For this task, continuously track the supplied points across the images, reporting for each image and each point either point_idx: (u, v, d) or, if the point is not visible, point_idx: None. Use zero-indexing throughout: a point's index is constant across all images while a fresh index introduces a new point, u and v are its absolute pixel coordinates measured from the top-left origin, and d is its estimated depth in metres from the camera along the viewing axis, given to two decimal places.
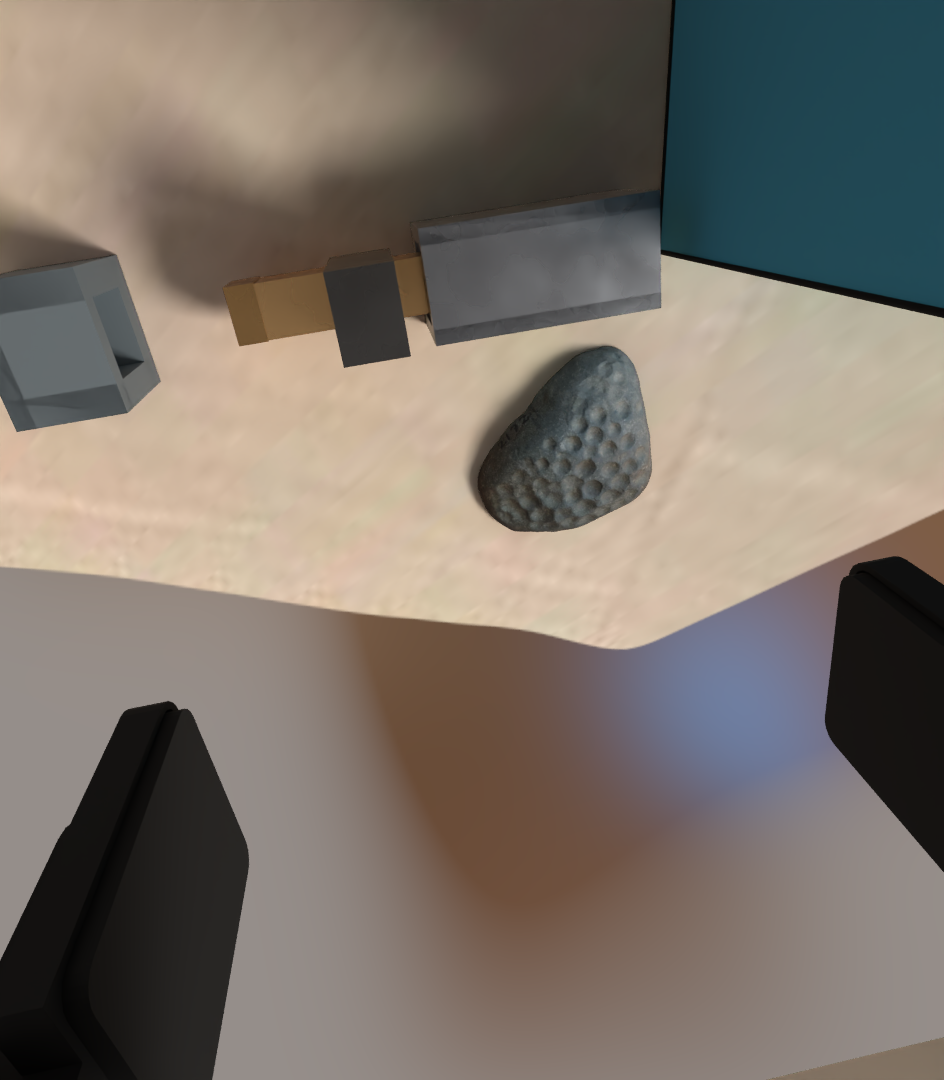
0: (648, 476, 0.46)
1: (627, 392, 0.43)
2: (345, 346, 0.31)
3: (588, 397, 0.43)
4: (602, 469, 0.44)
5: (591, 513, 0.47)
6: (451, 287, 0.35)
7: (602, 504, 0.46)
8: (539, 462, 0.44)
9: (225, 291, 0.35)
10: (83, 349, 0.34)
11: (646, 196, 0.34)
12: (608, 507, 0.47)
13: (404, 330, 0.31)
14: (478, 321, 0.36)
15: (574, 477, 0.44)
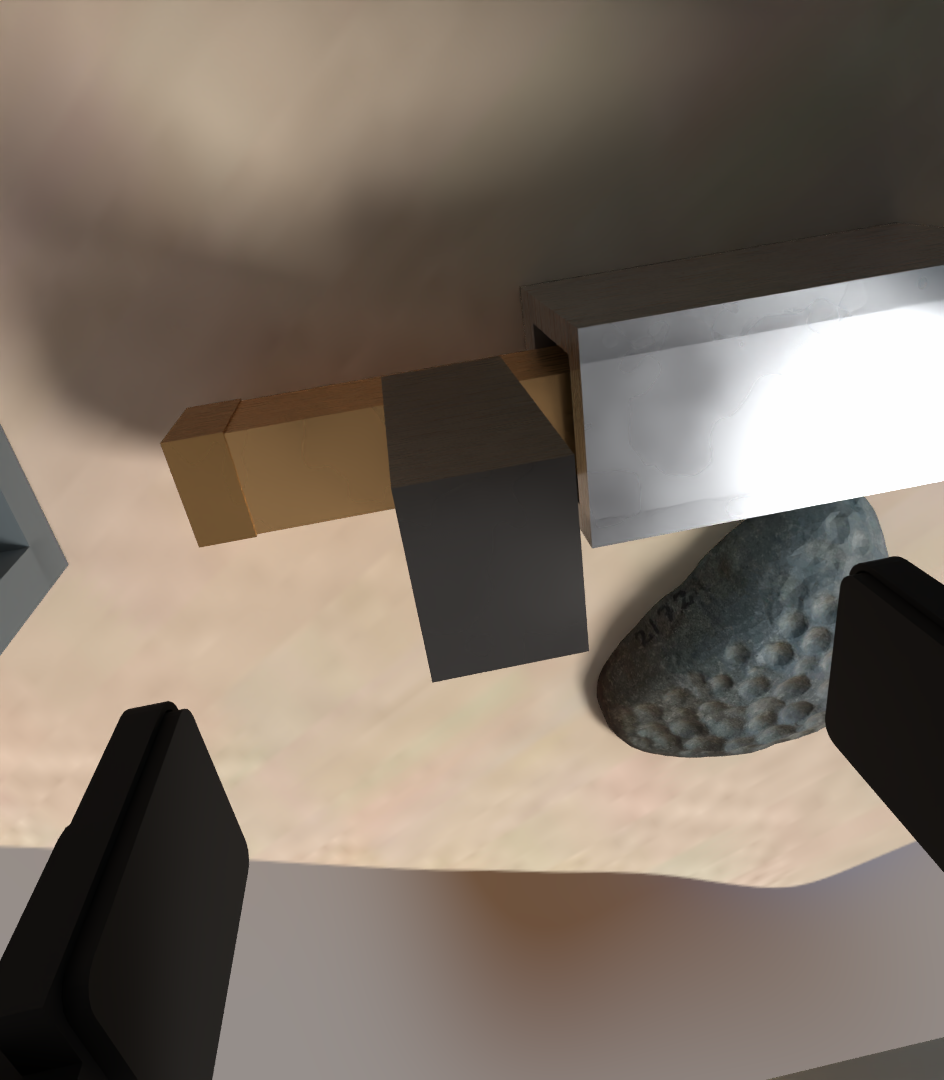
0: None
1: None
2: (439, 640, 0.13)
3: (809, 577, 0.24)
4: (819, 687, 0.26)
5: (782, 739, 0.29)
6: (634, 441, 0.17)
7: (806, 728, 0.28)
8: (715, 680, 0.26)
9: (166, 450, 0.17)
10: None
11: None
12: (811, 729, 0.29)
13: (581, 602, 0.13)
14: (679, 500, 0.18)
15: (770, 698, 0.26)
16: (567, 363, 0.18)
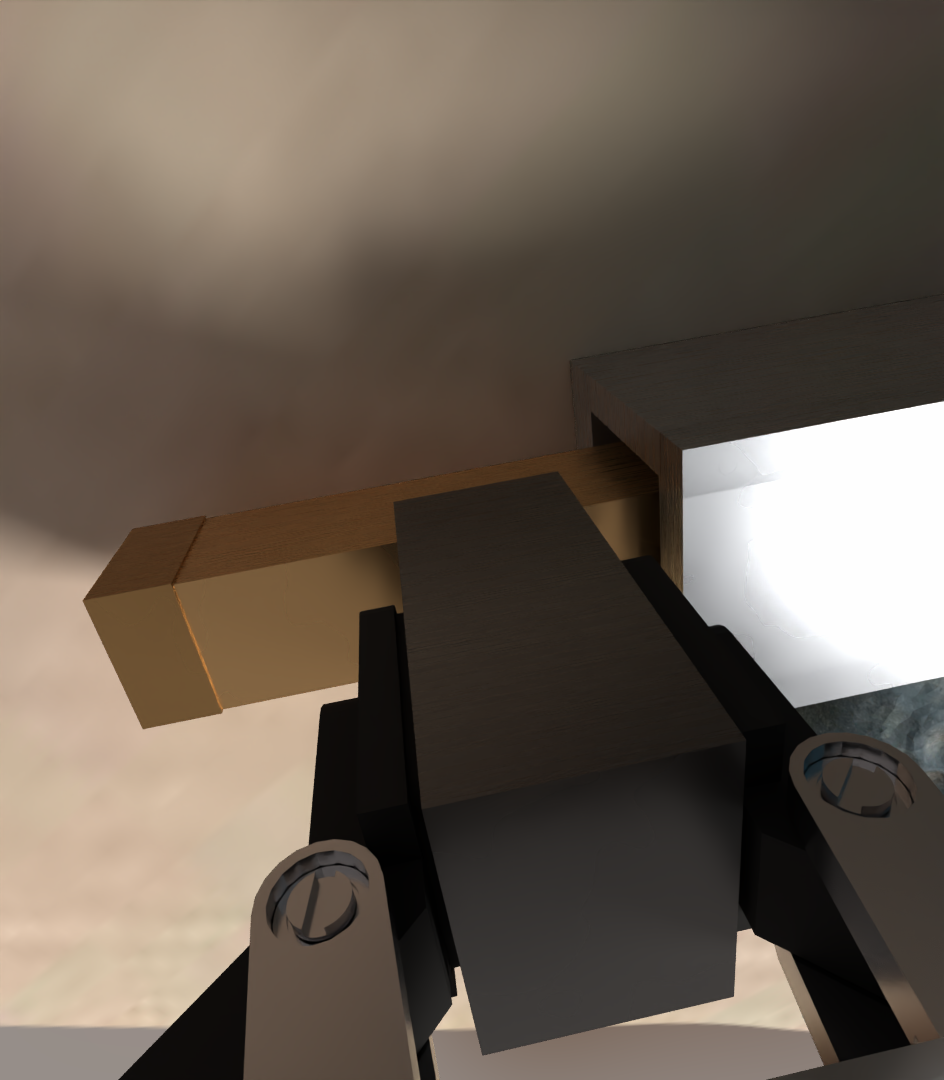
0: None
1: None
2: (495, 1004, 0.08)
3: (919, 709, 0.19)
4: None
5: None
6: (751, 596, 0.12)
7: None
8: None
9: (92, 609, 0.12)
10: None
11: None
12: None
13: (730, 938, 0.08)
14: (806, 668, 0.13)
15: None
16: (647, 476, 0.13)
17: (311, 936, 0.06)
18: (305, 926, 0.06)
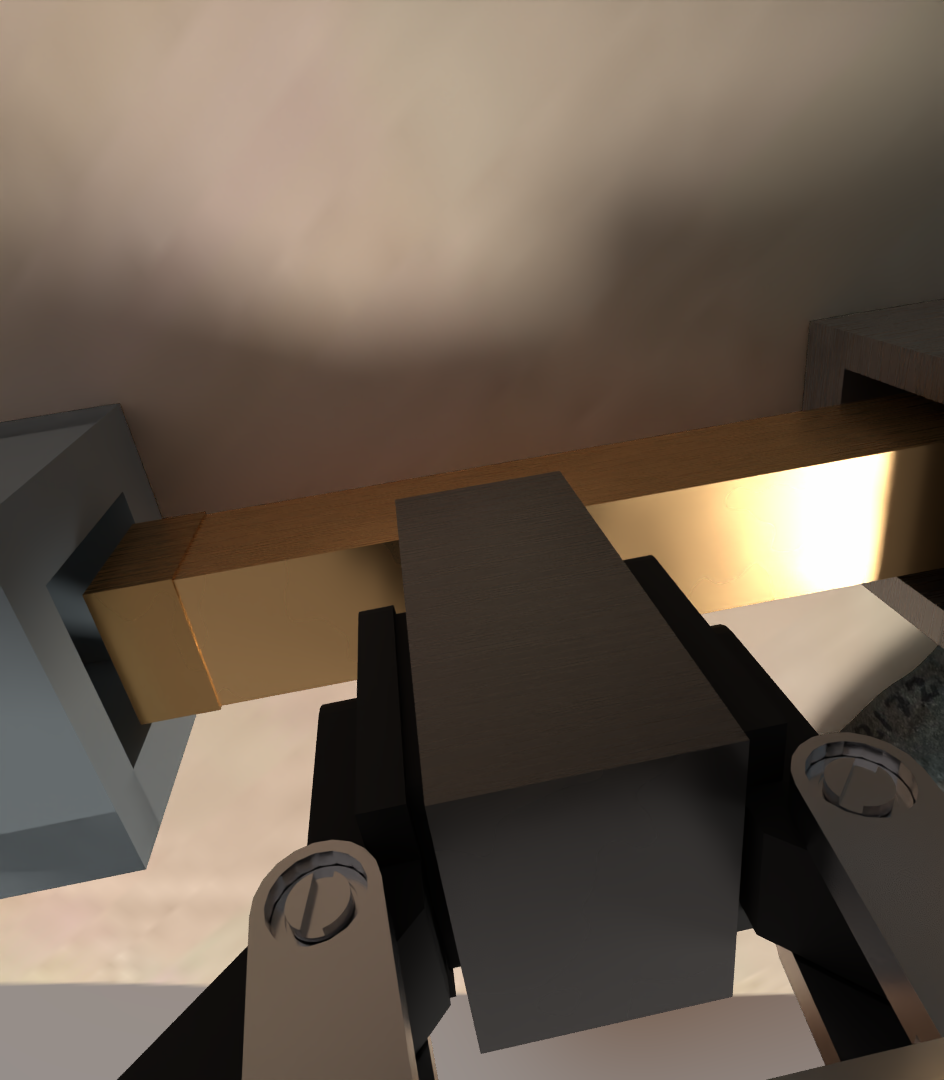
0: None
1: None
2: (495, 1002, 0.08)
3: None
4: None
5: None
6: None
7: None
8: None
9: (91, 603, 0.12)
10: (16, 740, 0.11)
11: None
12: None
13: (730, 938, 0.08)
14: None
15: None
16: (648, 476, 0.13)
17: (309, 937, 0.06)
18: (303, 927, 0.06)
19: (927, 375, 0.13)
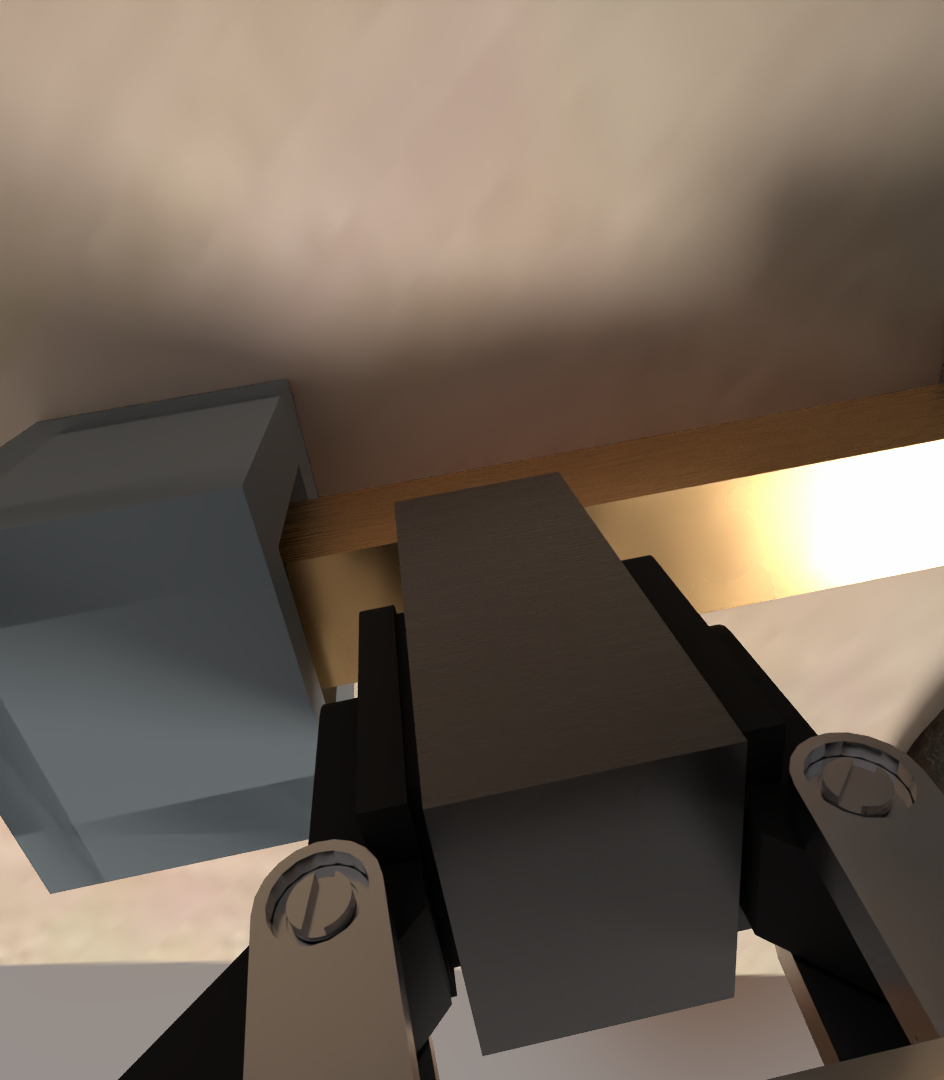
0: None
1: None
2: (496, 1005, 0.08)
3: None
4: None
5: None
6: None
7: None
8: None
9: None
10: (250, 699, 0.11)
11: None
12: None
13: (731, 938, 0.08)
14: None
15: None
16: (647, 476, 0.13)
17: (311, 936, 0.06)
18: (305, 926, 0.06)
19: None
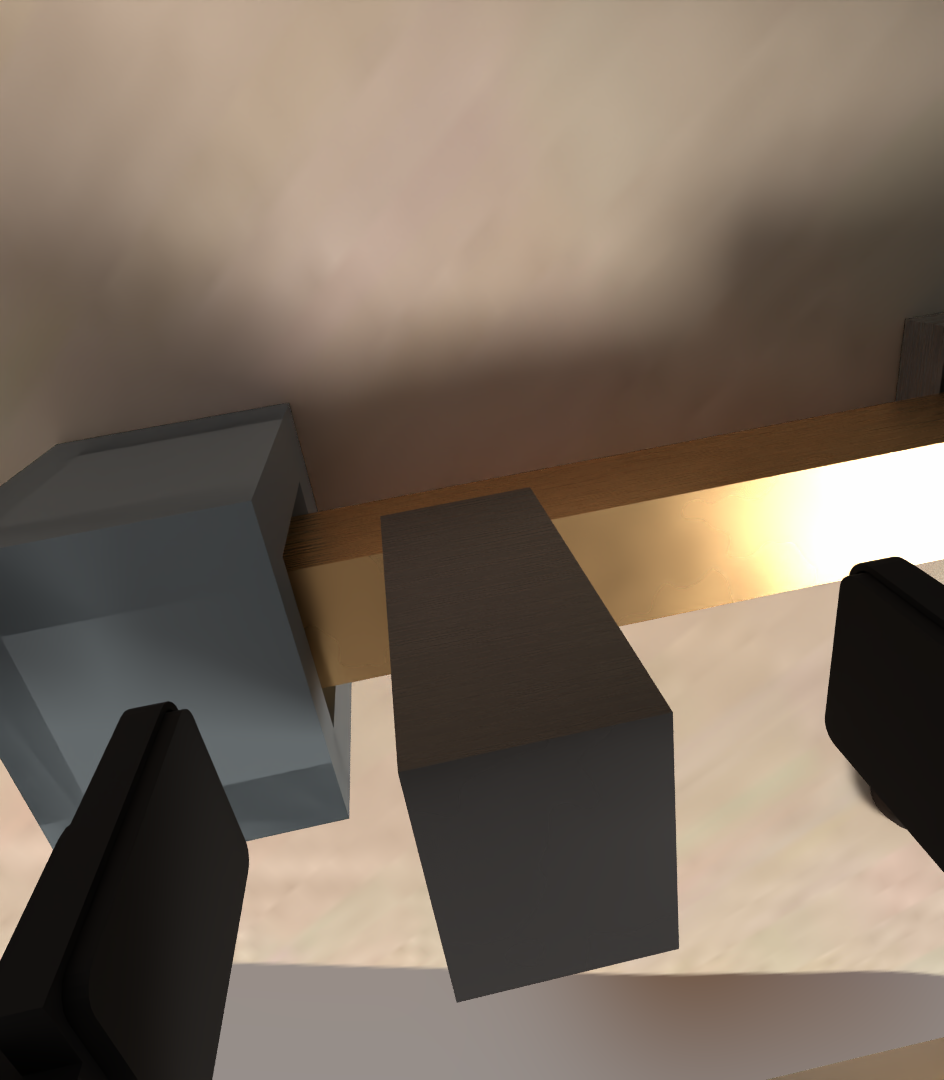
0: None
1: None
2: (467, 953, 0.09)
3: None
4: None
5: None
6: None
7: None
8: None
9: None
10: (257, 695, 0.13)
11: None
12: None
13: (671, 892, 0.09)
14: None
15: None
16: (612, 491, 0.15)
17: None
18: None
19: None
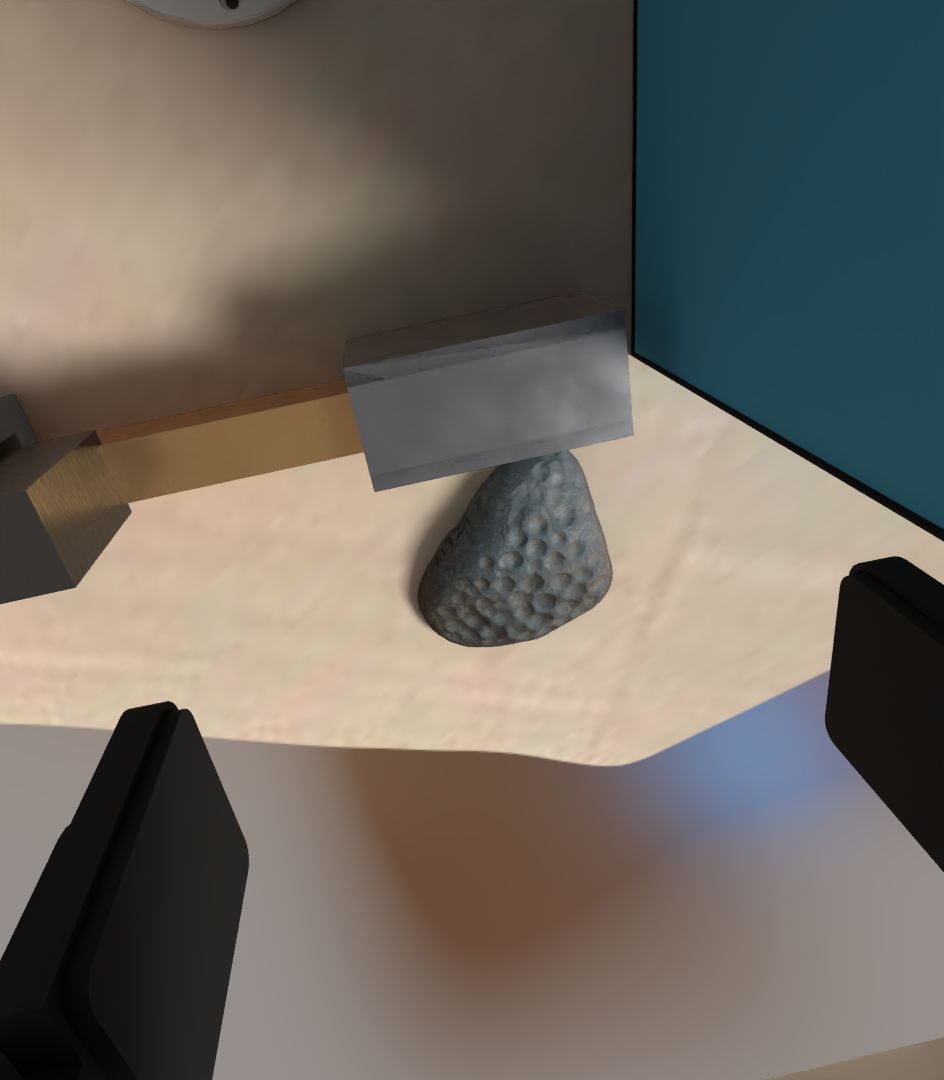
0: (608, 580, 0.40)
1: (569, 494, 0.37)
2: None
3: (524, 506, 0.37)
4: (551, 581, 0.38)
5: (549, 625, 0.41)
6: (386, 429, 0.30)
7: (560, 615, 0.40)
8: (478, 582, 0.38)
9: None
10: None
11: (608, 317, 0.29)
12: (568, 616, 0.41)
13: (59, 561, 0.25)
14: (421, 462, 0.31)
15: (521, 592, 0.39)
16: (144, 431, 0.31)
17: None
18: None
19: None
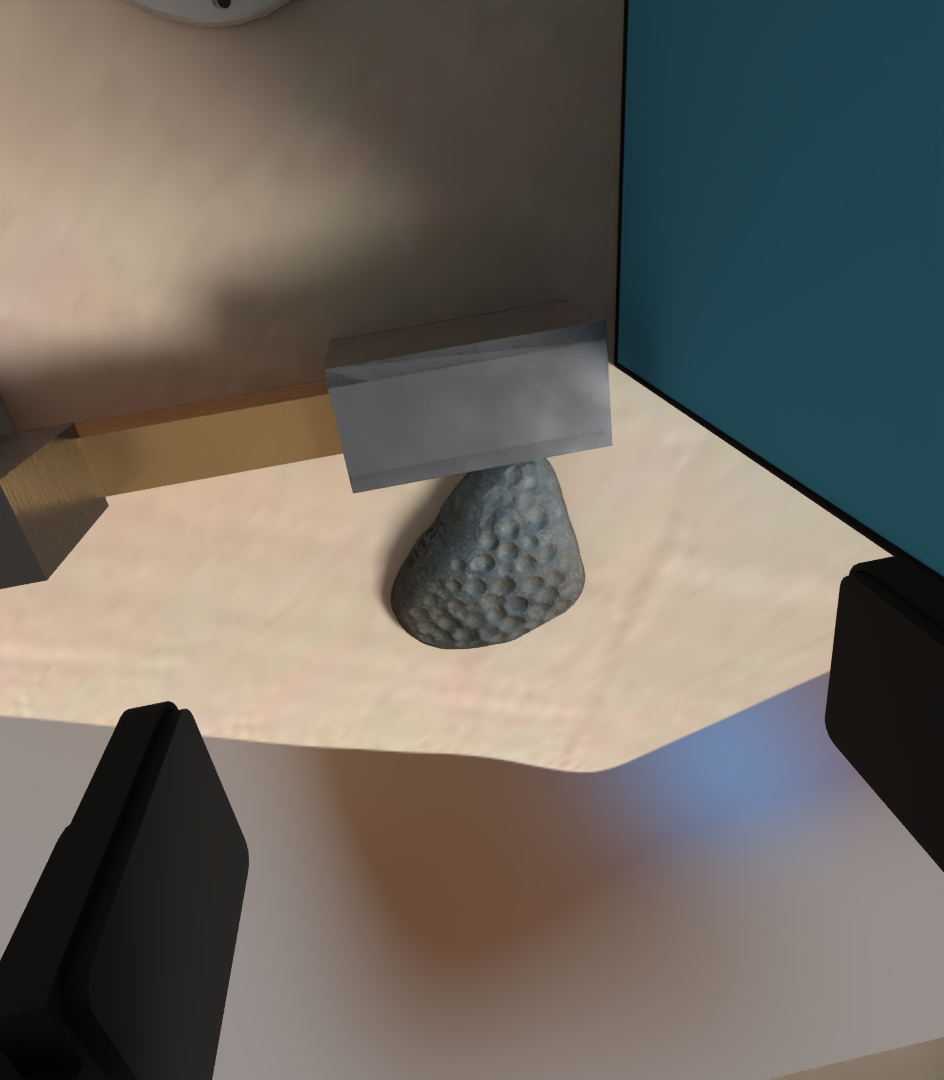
0: (581, 584, 0.40)
1: (541, 498, 0.37)
2: None
3: (496, 509, 0.37)
4: (523, 585, 0.39)
5: (521, 628, 0.41)
6: (366, 431, 0.30)
7: (532, 618, 0.40)
8: (450, 584, 0.38)
9: None
10: None
11: (590, 327, 0.30)
12: (540, 620, 0.41)
13: (31, 553, 0.25)
14: (400, 465, 0.31)
15: (493, 595, 0.39)
16: (123, 425, 0.31)
17: None
18: None
19: None
